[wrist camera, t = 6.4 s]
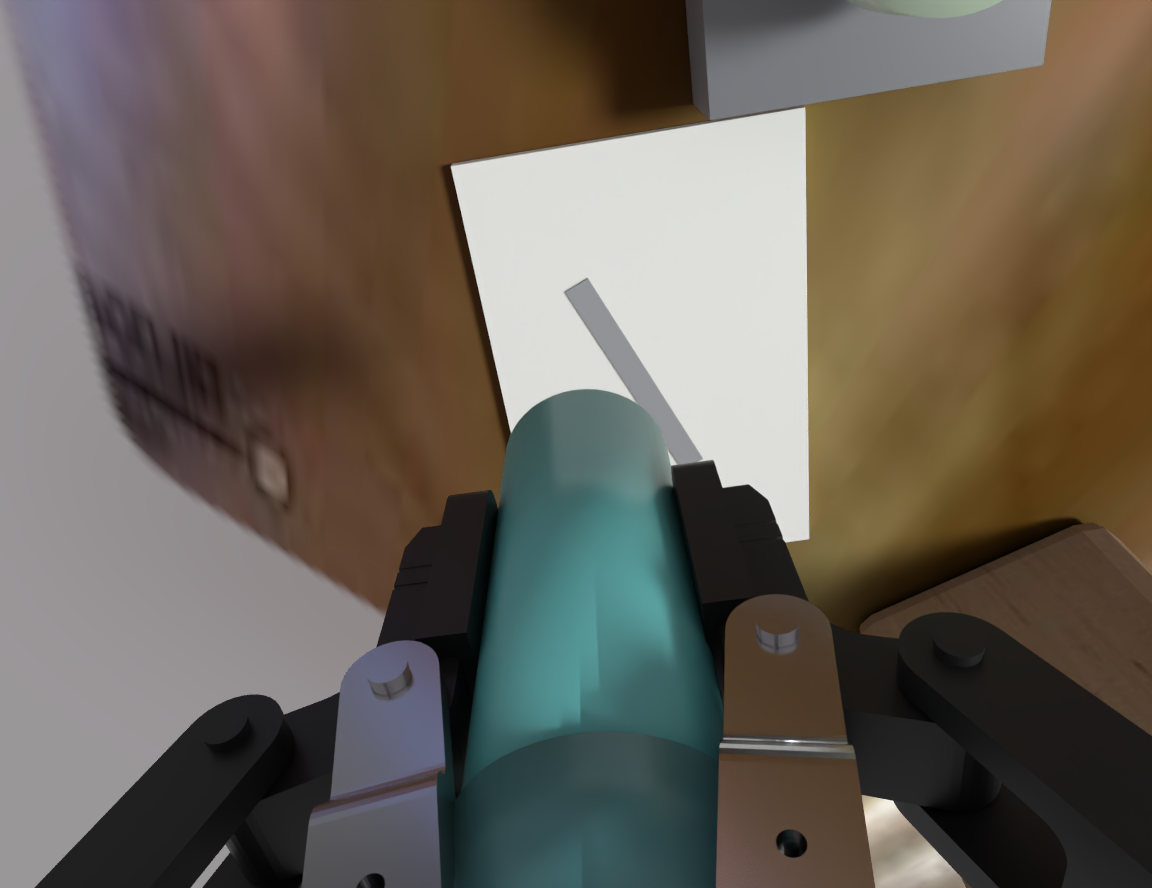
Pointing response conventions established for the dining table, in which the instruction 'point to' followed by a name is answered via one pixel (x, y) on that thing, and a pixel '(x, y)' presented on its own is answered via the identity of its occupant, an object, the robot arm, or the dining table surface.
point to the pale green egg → (926, 7)
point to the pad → (659, 287)
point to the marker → (590, 668)
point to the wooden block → (1059, 612)
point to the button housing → (845, 50)
